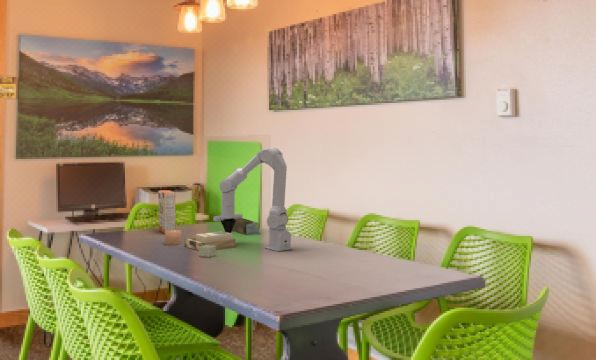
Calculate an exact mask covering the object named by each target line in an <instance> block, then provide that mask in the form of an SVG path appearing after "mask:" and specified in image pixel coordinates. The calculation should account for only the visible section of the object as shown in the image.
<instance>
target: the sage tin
mask: <svg viewBox="0 0 596 360" xmlns="http://www.w3.org/2000/svg"><path fill="white" fill-rule="evenodd" d="M216 255H217V249H216V246H211V245H204V246H200V247H199V251H198V257H202V258H212V257H215V256H216Z"/></svg>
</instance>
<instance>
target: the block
mask: <svg viewBox="0 0 596 360" xmlns="http://www.w3.org/2000/svg"><path fill="white" fill-rule="evenodd" d="M164 237H165V239H164V242H165V243H164V244H165V245H166V246H179V244H180V245H182V230H181V229H176V230H175V229H173V230H166V231H165V234H164Z"/></svg>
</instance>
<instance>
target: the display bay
mask: <svg viewBox="0 0 596 360" xmlns="http://www.w3.org/2000/svg"><path fill="white" fill-rule="evenodd" d="M204 245H211V246H216V250H222V249H231V248H234V247H235V248H236V238H232V239H227V240H219V241H211V242H204V243H202V242H199V241H196V236H195V237H188V238H184V247H185V248H189V249H193V250H195V251H198V250H199V247H200V246H204Z"/></svg>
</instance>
